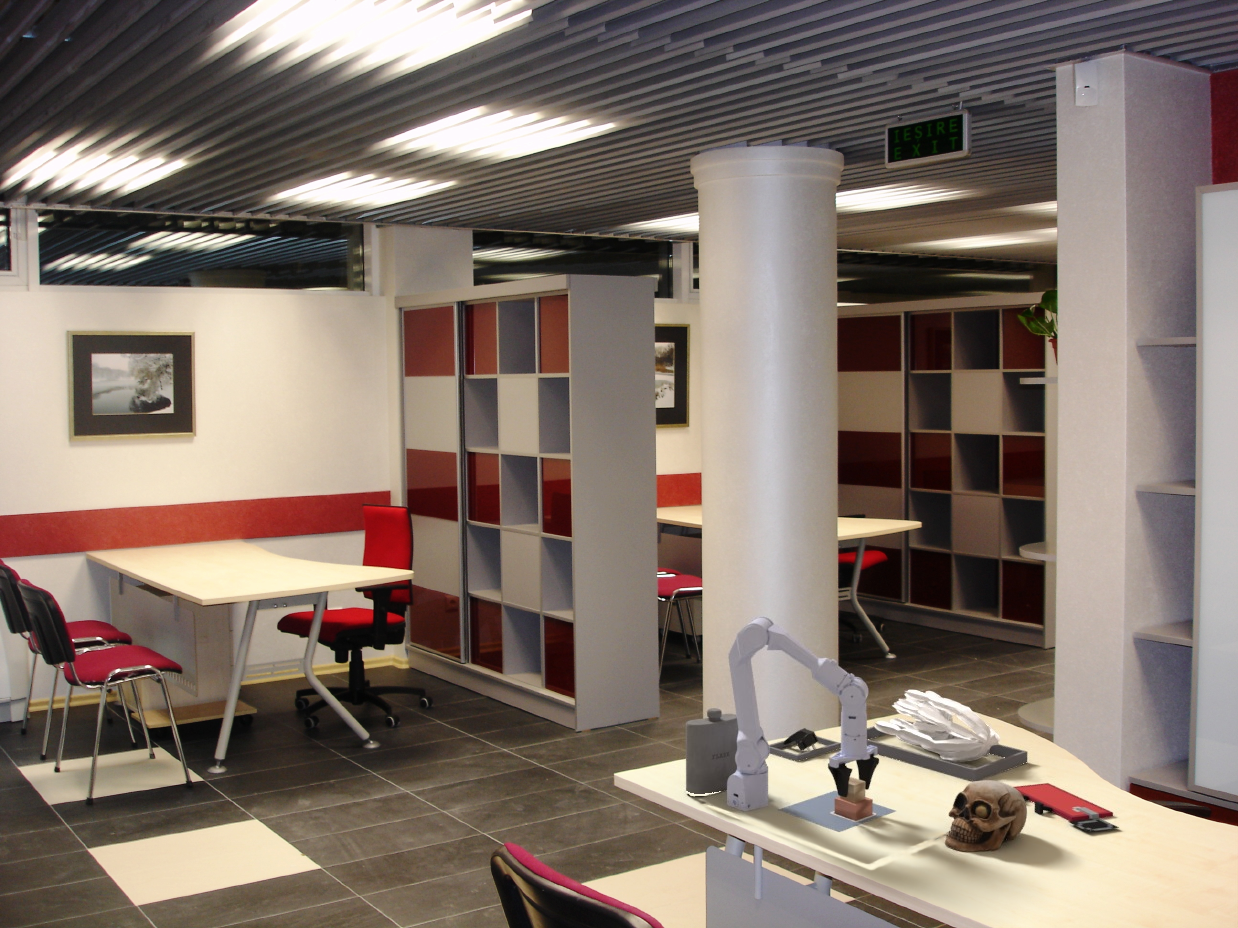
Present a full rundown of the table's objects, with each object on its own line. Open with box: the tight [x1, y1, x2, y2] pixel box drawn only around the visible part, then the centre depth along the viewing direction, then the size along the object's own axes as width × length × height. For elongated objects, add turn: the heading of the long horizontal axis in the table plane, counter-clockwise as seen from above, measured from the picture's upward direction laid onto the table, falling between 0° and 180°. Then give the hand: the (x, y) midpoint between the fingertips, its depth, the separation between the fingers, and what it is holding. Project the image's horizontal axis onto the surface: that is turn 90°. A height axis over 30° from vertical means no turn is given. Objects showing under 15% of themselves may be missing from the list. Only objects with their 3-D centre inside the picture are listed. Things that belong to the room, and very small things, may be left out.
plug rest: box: [769, 735, 841, 762], centre depth 316 cm, size 18×12×2 cm, turn 129°
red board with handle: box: [1013, 782, 1120, 832], centre depth 270 cm, size 30×3×15 cm
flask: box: [685, 707, 739, 794], centre depth 283 cm, size 15×6×20 cm, turn 122°
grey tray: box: [867, 719, 1028, 782], centre depth 312 cm, size 24×41×3 cm, turn 39°
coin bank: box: [944, 779, 1028, 852], centre depth 252 cm, size 16×17×13 cm
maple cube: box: [840, 776, 866, 803], centre depth 264 cm, size 4×4×4 cm
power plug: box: [783, 727, 819, 752], centre depth 316 cm, size 6×8×12 cm
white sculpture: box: [874, 689, 1000, 763], centre depth 313 cm, size 17×18×35 cm
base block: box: [835, 796, 874, 821], centre depth 265 cm, size 6×6×4 cm
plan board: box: [777, 790, 896, 833], centre depth 267 cm, size 20×18×1 cm
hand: (853, 792), depth 264 cm, fingers open, 7 cm apart
